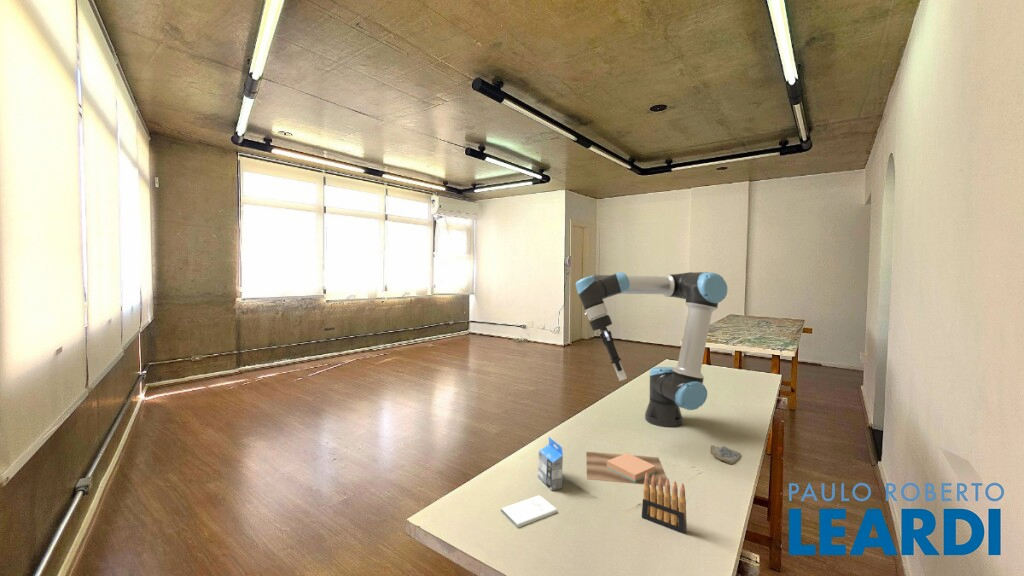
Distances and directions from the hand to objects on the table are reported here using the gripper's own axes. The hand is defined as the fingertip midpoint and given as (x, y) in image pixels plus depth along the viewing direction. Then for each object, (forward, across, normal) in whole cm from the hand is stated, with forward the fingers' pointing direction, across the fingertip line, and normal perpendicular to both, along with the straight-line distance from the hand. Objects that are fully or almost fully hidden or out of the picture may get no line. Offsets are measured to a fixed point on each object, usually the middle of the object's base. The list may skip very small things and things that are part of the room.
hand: (623, 379), depth 143 cm
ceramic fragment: (+36, -5, +22) cm, 43 cm away
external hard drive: (+20, +39, -38) cm, 58 cm away
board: (+25, +12, -11) cm, 30 cm away
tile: (+22, +9, -12) cm, 27 cm away
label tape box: (+19, +23, -33) cm, 45 cm away
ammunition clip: (+32, +38, -6) cm, 50 cm away
